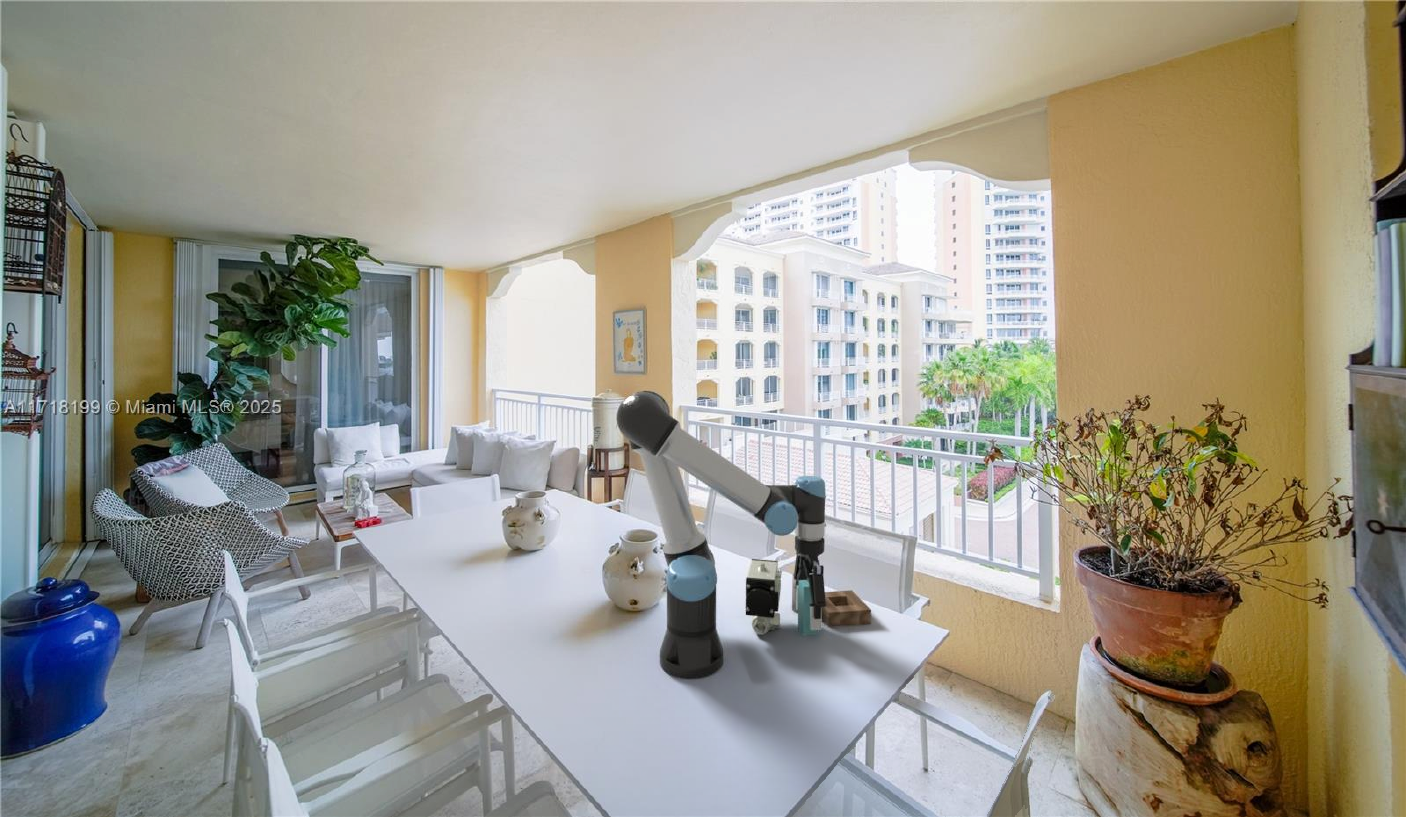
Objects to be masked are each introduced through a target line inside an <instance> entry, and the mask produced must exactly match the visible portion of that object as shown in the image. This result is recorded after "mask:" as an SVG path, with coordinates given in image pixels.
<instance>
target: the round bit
mask: <svg viewBox="0 0 1406 817" xmlns="http://www.w3.org/2000/svg"><path fill="white" fill-rule="evenodd" d="M797 575H798V574H797ZM791 580H792V582H791V583H792V584H791V585H792V586H791V587H792V588H791V590H792V591H791V610H792V612H794V613H795V614H798V610H797V609H796V592H797V585H796V580H794V573H793V574H792V579H791ZM807 580H808V578H807Z"/></svg>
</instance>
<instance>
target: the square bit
mask: <svg viewBox="0 0 1406 817" xmlns="http://www.w3.org/2000/svg"><path fill="white" fill-rule="evenodd" d="M809 604H812V600H811V593H810V587H809V580H799V583H798V613H797V629H798V630H799V631H800V633H801V634H802V636H815V635H819V631H820V630H810V605H809Z"/></svg>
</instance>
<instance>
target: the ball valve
mask: <svg viewBox="0 0 1406 817" xmlns="http://www.w3.org/2000/svg"><path fill="white" fill-rule="evenodd" d="M778 564H779V561H778V560H769V559H756V558H752V559H751V561H750V564H749V568H748V572H747V575H746V578H745V616H750V617H751V616H752V617H753V618H752V622H751V626H752V629H753V630H754V633H755V634H756V635H760V636H761V635H762V636H764V635H765V634H766V633H768V632H769V631H775V630H779V629H780V627H781V626H780V625H781V614H780V613H779V606H780V599H781V590H782V572H783V571H782V569H779V568H778V567H779V566H778Z"/></svg>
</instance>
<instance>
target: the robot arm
mask: <svg viewBox="0 0 1406 817" xmlns="http://www.w3.org/2000/svg"><path fill="white" fill-rule="evenodd" d="M670 413H671V412H670V406H669V404H668V402H666V399H665V398H664V397H663V396H662V395H660V394H659V393H657V392H655V391H650V390H642V391H637V392H635V393H632V394H631V395H629V396H627V397H626V398H624V400H622V401H621V403H620V405H619V406H618V408H617V412H616V418H615V419H616V424H617V428H618V429H619V431H620V433H621V434H622V435H623V437H625V438H626V439H627V440H628V442H629V446H630V448H631V451H633V452H635V453H636V454H638V455H639V458H640V460H641V464H642V466H643V467H642V468H643V470H644V474H645V477H646V480H647V483H648V486H649V490H650V493H651V496H652V499H653V502H654V506H655V508H656V512H657V515H658V519H659V521H660V522H659V523H660V525H661V528H662V533H663V535H664V538H665V542H664V545H663V547H662V551H663V555H664V559H665V562H666V565H667V569H666V575H665V584H666V630H665V634H664V636H663V640H662V643H661V646H660V649H659V665H660V667H661V668H662V670H663V671H664V672H666V673H668V674H669V675H671V676H673V677H676V678H680V679H685V680H686V679H687V680H688V679H690V680H692V679H694V680H695V679H701V678H705V677H708V676H711V675H713V674H715V673H716V672H719V670H720V669H721V668H722V667H723V664H724V648H723V645H722V642H721V639H720V636H719V633H718V630H717V583H718V573H717V569H716V561H715V557H714V555H713V553H712V550H711V549H710V547H709V544H708V541H707V537H706V535H705V533H702V532H700V531H699V529H698V528H697V524H696V521H695V517H694V513H693V510H692V507H691V504H690V501H689V497H688V494H687V490H686V487H685V484H684V481H683V477H682V475H681V471H680V469H682V470H683V471H685V472H686V473H688V474H689V475H691V476H693V477H694V478H695V479H697V480H699V481H700V482H702V483H703V484H704V485H706V486H708V487H709V488H711V489H712V490H714V491H715V492H716V493H718V494H720V495H721V496H723V498H726V499H727V500H728V501H730V502H732V503H733V504H735V505H737V506H738V507H739V508H741V509H743V511H744V512H746V513H748V514H749V515H751V516H752V517H754V518H755V519H757V520H758V521H759V522H761V523H763V524H764V525H765V527H766V528H767V530H768V531H769V532H771V533H772V534H773V535H776V536H780V537H783V536H788V535H790V534H792V533H793V532H794V534H795V537H794V549H795V552H796V554H795V555H796V557H795V564H794V572H793V574H794V580H796V585H797V592H796V609H797V610H798V583H799V580H807V578H808V580H809V587H810V593H811V600H812V604H809V605H810V630H819V631H821V630H822V621H823V620H822V607H826V600H825V592H826V591H825V590H826V589H825V580H824V579H825V578H824V573H825V572H824V565H822V564H820V560H819V556H820V555H822V554H823V553H824V552H825V542H826V541H825V534H826V533H825V532H826V531H825V527H827V523H826V521H825V520H826V500H827V499H826V498H827V495H826V481H825V480H824V479H823V478H822V477H819V476H814V475H801V476H798V477H797V478H796V480H795V482H794V484H789V485H786V484H783V485H781V484H774V485H773V484H764V483H763V482H761V481H760V480H758V479H756V477H754V476H753V475H751V474H749V473H748V472H746V471H745V470H743V469H742V468H740V467H738V465H736V464H734V463H732V462H731V461H729V459H727V458H726V457H724V456H722V455H721V454H720V453H718V452H717V451H715V450H714V449H712V448H711V447H710V446H708V445H706V444H704V443H703V442H702V441H700V440H699V439H697V438H696V437H694V436H693V435H692V434H690V433H688V432H687V431H685V430H684V429H682V428H681V423H680V421H679V420H677V419H676V418H674V417H673V416H672V415H670ZM797 574H798V575H797Z"/></svg>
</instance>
